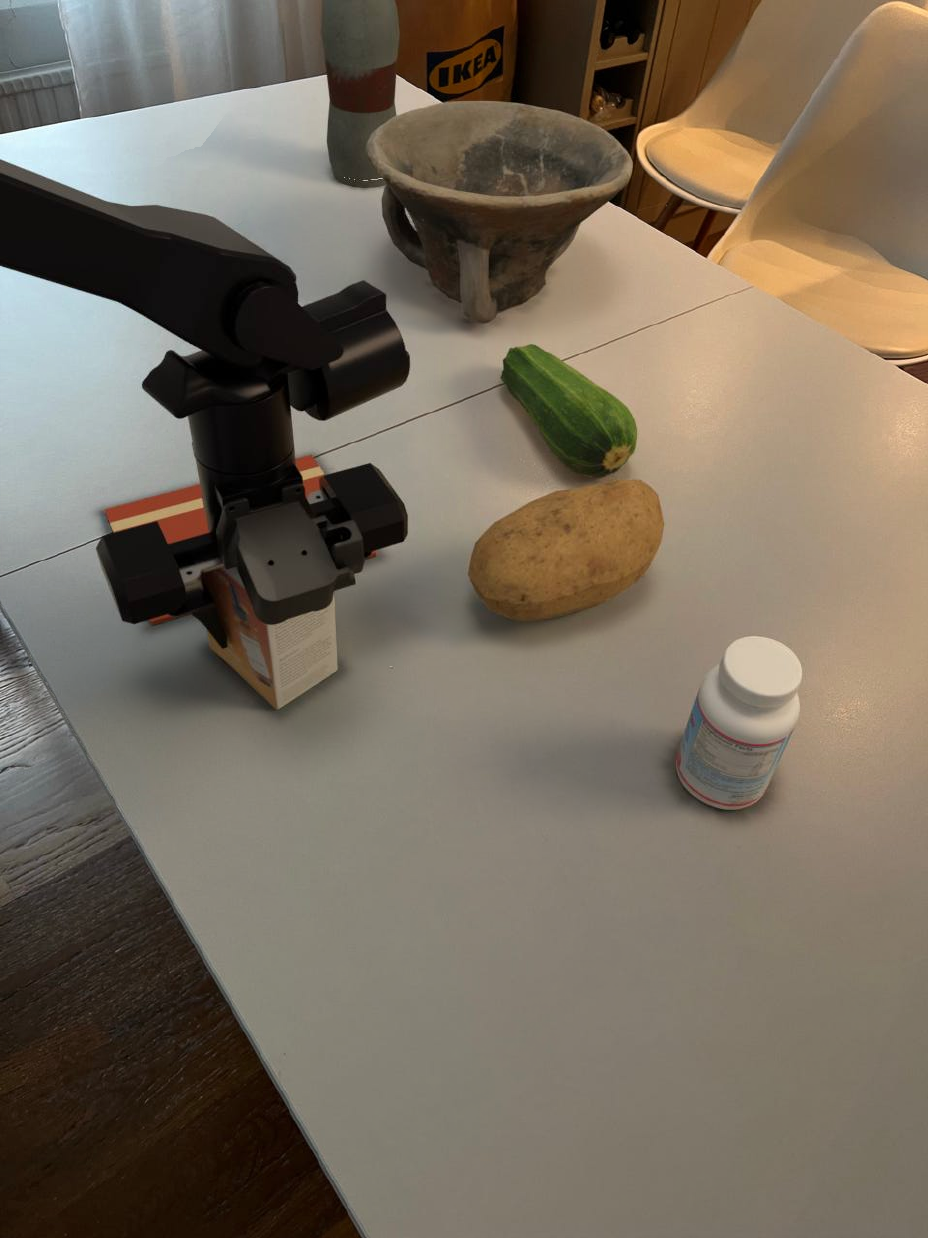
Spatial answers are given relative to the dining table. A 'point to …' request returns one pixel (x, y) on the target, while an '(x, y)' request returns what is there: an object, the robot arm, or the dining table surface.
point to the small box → (272, 642)
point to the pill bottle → (740, 723)
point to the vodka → (358, 81)
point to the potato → (568, 550)
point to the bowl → (492, 194)
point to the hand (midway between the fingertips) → (269, 629)
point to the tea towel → (188, 511)
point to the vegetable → (571, 412)
